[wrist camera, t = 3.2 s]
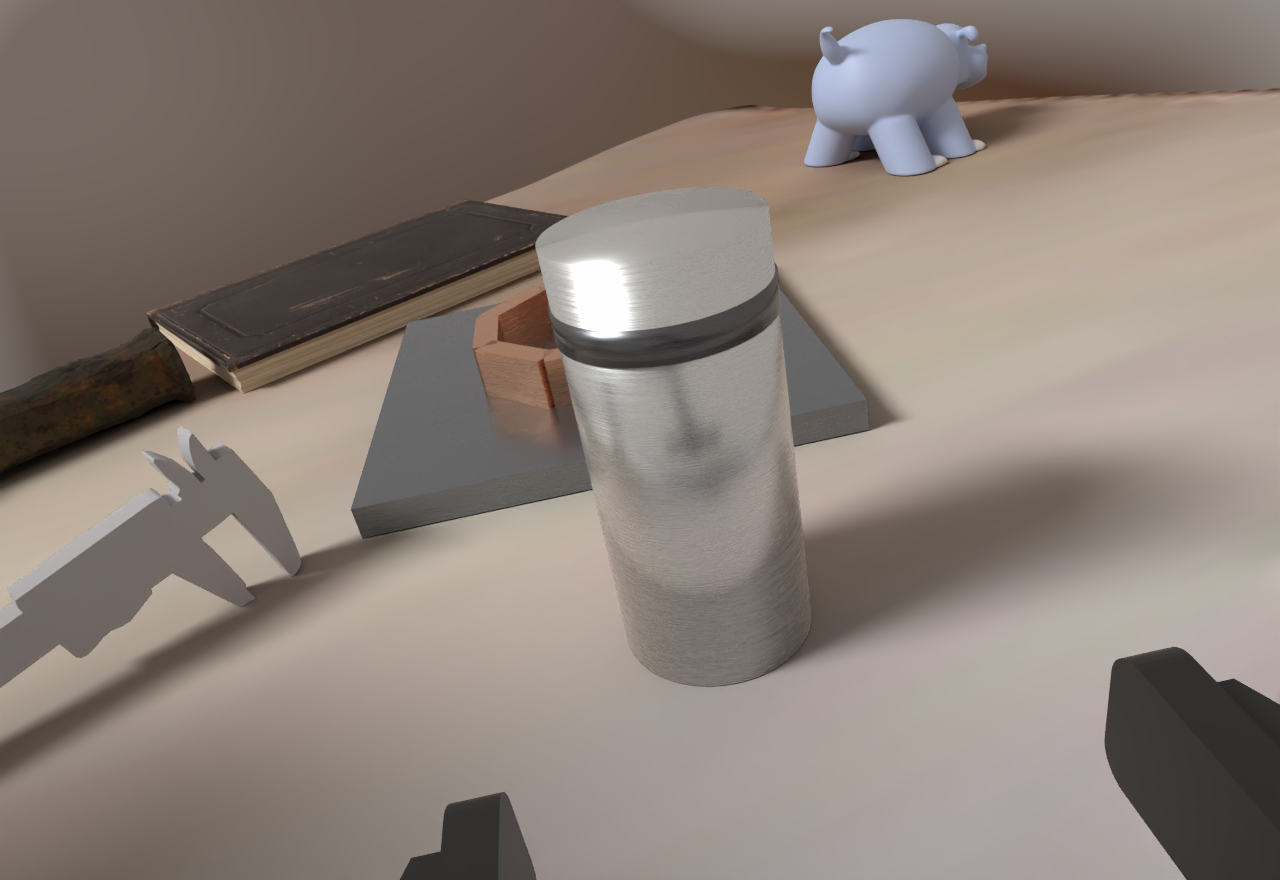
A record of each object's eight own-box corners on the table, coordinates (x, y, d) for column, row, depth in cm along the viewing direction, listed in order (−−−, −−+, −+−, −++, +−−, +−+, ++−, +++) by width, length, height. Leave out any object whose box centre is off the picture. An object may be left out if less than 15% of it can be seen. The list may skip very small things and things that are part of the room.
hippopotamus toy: (1037, 128, 63) (1042, -23, 59) (893, 189, 57) (887, 24, 52) (912, 122, 71) (908, -12, 67) (773, 175, 65) (758, 31, 60)
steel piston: (636, 706, 22) (534, 284, 17) (616, 581, 27) (531, 216, 22) (838, 662, 22) (800, 229, 17) (785, 545, 27) (741, 173, 22)
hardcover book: (600, 255, 57) (592, 219, 56) (244, 408, 45) (226, 366, 44) (470, 228, 68) (461, 198, 67) (159, 344, 57) (143, 310, 56)
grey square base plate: (362, 538, 31) (331, 459, 30) (414, 344, 47) (395, 286, 46) (869, 429, 32) (864, 346, 30) (752, 273, 48) (745, 213, 46)
